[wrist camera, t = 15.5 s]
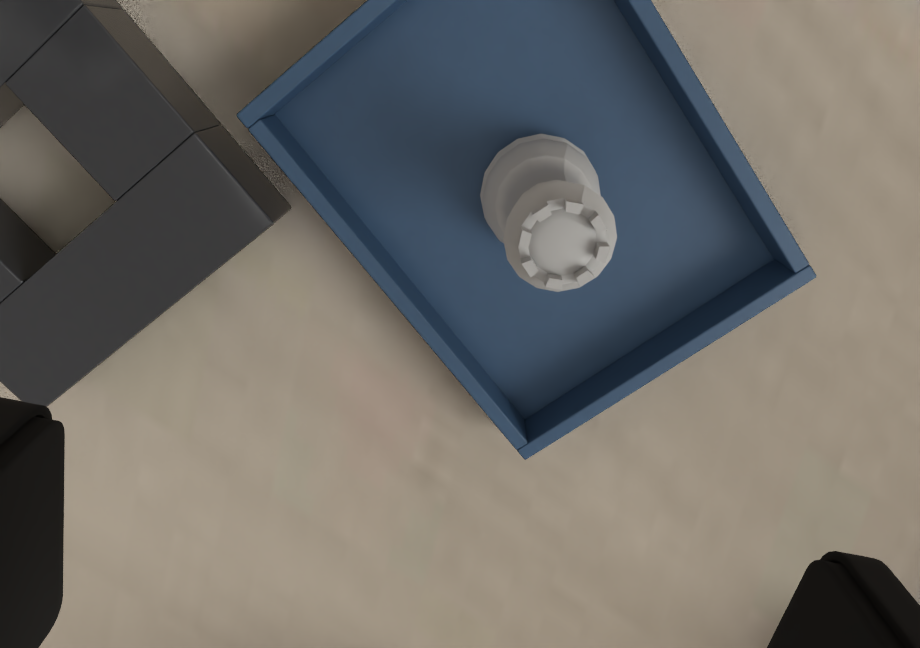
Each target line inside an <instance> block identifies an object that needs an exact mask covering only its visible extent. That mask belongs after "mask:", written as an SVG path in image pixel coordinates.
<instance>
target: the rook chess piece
mask: <svg viewBox="0 0 920 648" xmlns="http://www.w3.org/2000/svg"><path fill="white" fill-rule="evenodd" d="M480 198H481V203H482V208H483V213H484V218H485V219H486V221H487V223H488V225H489V226H490V228H491V229H492V231H493V232H494V234H495V235H496V237H497V238H498V240H499V241H501V242H502V243H504V246H505V251H506V256H507V260H508V261H509V263H510V264H511V266H512V267H513V269H514V270H515V272H516V273H517V275H518V276H519V277H520V278H522V279H523V280H525V281H526V282H528V283H530V284H531V285H533V286H534V287H536V288H539V289H545V290H550V291H555V292H560V291H565V290H570V289H576V288H580V287H581V286H583V285H585V284H586V283H588V282H589V281H591V280H593V279H594V278H596V277H597V276H598V275H599V274H600V273H601V272H602V270H603V269H604V268H605V266H606V265H607V264H608V262H609V261H610V260H611V258H612V254H613V251H614V247H615V243H616V240H617V233H616V225H615V218H614V215H613V213H612V212H611V210H610V208H609V207H608V205H607V203H606V202H605V200H604V198H603V197H601V194H600V187H599V180H598V175H597V174H596V171H595V169H594V168H593V166H592V164H591V163H590V161H589V159H588V158H587V156H586V154H585V153H584V151H582V150H581V149H579V148H578V147H576V146H575V145H574V144H572V143H571V142H569V141H568V140H566V139H565V138H561V137H556V136H551V135H546V134H537V135H532V136H528V137H523V138H518V139H516V140H515V141H514V142H512V143H511V144H509V145H508V146H506V147H505V148H503V149H502V150H500V151H499V152H498V153H497V154H496V156H495V157H494V159H493V160H492V162H491V163H490V165H489V166H488V168H487V169H486V171H485V173H484V178H483V183H482V188H481V193H480Z"/></svg>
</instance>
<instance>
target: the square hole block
mask: <svg viewBox="0 0 920 648" xmlns="http://www.w3.org/2000/svg"><path fill="white" fill-rule="evenodd" d="M24 104H25V106H26V107H27V108H28V109H29V110H30V111H31V112H32V113H33V114H34V115H35V116H36V117H37V118H38V119H39V120H40V122H41V123H42V124H43V125H44V126H45V127H46V128H47V129H48V130H49V131H50V132H51V133H52V134H53V135H54V136H55V138H56V139H57V140H58V141H59V142H60V143H61V144H62V145H63V146H64V147H65V148H66V149H67V150H68V151H69V152H70V154H71V155H72V156H73V157H74V158H75V159H76V160H77V161H78V162H79V163H80V164H81V165H82V166H83V167H84V168H85V170H86V171H87V172H88V173H89V174H90V175H91V176H92V177H93V178H94V179H95V180H96V181H97V182H98V183H99V185H100V186H101V187H102V188H103V189H104V190H105V191H106V192H107V193H108V194H109V195H110V196H111V197H112V198H113V199H114V200H115V201H116V200H117V201H116V202H115V203H114V204H112V205H111V206H110V207H109V208H108V209H107V210H106V211H104V212H103V213H102V214H101V215H100V216H99V217H98V218H96V219H95V220H94V221H93V222H92V223H91V224H90V225H88V226H87V227H86V228H85V229H84V230H83V231H82V232H81V233H79V234H78V235H77V236H76V237H75V238H74V239H73V240H71V241H70V242H69V243H68V244H67V245H66V246H65V247H63V248H62V249H61V250H60V251H59V252H58V253H57V254H55V253H54V252H53V251H52V250H51V249H50V248H49V247H48V246H47V245H46V244H45V243H44V242H43V241H42V240H41V239H40V238H39V237H38V236H37V235H36V234H35V233H34V232H33V231H32V230H31V229H30V228H29V227H28V226H27V225H26V224H25V223H24V222H23V221H22V220H21V219H20V218H19V217H18V216H17V215H16V214H15V213H14V212H13V211H12V210H11V209H10V208H9V207H8V206H7V205H6V204H5V203H4V202H3V201H2V200H1V199H0V382H1V383H2V384H3V385H5V386H6V387H7V388H8V389H9V390H10V391H11V392H12V393H13V394H14V395H15V396H17V397H18V398H19V399H20V400H21V401H22V402H28V403H33V404H39V405H44V406H46V407H47V406H48V405H50V404H51V403H52V402H53V401H55V400H56V399H57V398H58V397H60V396H61V395H62V394H63V393H65V392H66V391H67V390H68V389H70V388H71V387H72V386H73V385H75V384H76V383H77V382H78V381H80V380H81V379H82V378H83V377H84V376H86V375H87V374H88V373H89V372H91V371H92V370H93V369H94V368H96V367H97V366H98V365H99V364H101V363H102V362H103V361H104V360H106V359H107V358H108V357H109V356H111V355H112V354H113V353H114V352H115V351H117V350H118V349H119V348H120V347H122V346H123V345H124V344H125V343H127V342H128V341H129V340H130V339H132V338H133V337H134V336H135V335H137V334H138V333H139V332H140V331H142V330H143V329H144V328H145V327H147V326H148V325H149V324H150V323H151V322H153V321H154V320H155V319H156V318H158V317H159V316H160V315H161V314H163V313H164V312H165V311H166V310H168V309H169V308H170V307H171V306H173V305H174V304H175V303H176V302H178V301H179V300H180V299H181V298H182V297H184V296H185V295H186V294H187V293H189V292H190V291H191V290H192V289H194V288H195V287H196V286H197V285H199V284H200V283H201V282H202V281H204V280H205V279H206V278H207V277H209V276H210V275H211V274H212V273H214V272H215V271H216V270H217V269H218V268H220V267H221V266H222V265H223V264H225V263H226V262H227V261H228V260H230V259H231V258H232V257H233V256H235V255H236V254H237V253H238V252H240V251H241V250H242V249H243V248H245V247H246V246H247V245H248V244H249V243H251V242H252V241H253V240H254V239H256V238H257V237H258V236H259V235H261V234H262V233H263V232H264V231H266V230H267V229H268V228H269V227H271V226H272V225H273V224H274V223H275V222H276V221H278V220H279V219H280V218H281V217H282V216H283V215H284V214H286V213H287V212H288V211H289V210H290V209H291V206H290V205H289V204H288V202H287V201H286V200H285V199H284V198H283V197H282V195H281V194H280V193H279V192H278V191H277V190H276V188H275V187H274V186H273V185H272V184H271V182H270V181H269V180H268V179H267V178H266V177H265V175H264V174H263V173H262V172H261V171H260V170H259V168H258V167H257V166H256V165H255V164H254V162H253V161H252V160H251V159H250V158H249V157H248V155H247V154H246V153H245V152H244V151H243V150H242V148H241V147H240V146H239V145H238V144H237V142H236V141H235V140H234V139H233V138H232V137H231V135H230V134H229V133H228V132H227V131H226V129H225V128H224V127H223V126H222V125H220V122H219V121H218V120H217V119H216V118H215V116H214V115H213V114H212V113H211V112H210V111H209V109H208V108H207V107H206V106H205V105H204V103H203V102H202V101H201V100H200V99H199V98H198V96H197V95H196V94H195V93H194V92H193V91H192V89H191V88H190V87H189V86H188V85H187V83H186V82H185V81H184V80H183V79H182V78H181V76H180V75H179V74H178V73H177V72H176V70H175V69H174V68H173V67H172V66H171V65H170V63H169V62H168V61H167V60H166V59H165V58H164V56H163V55H162V54H161V53H160V52H159V50H158V49H157V48H156V47H155V46H154V45H153V43H152V42H151V41H150V40H149V39H148V38H147V36H146V35H145V34H144V33H143V32H142V30H141V29H140V28H139V27H138V26H137V25H136V23H135V22H134V21H133V20H132V19H131V18H130V16H129V15H128V14H127V13H126V12H125V11H124V10H122V7H121V6H120V5H119V3H118V2H117V1H116V0H0V127H1V126H2V125H4V124H5V123H6V122H7V121H8V120H9V119H10V118H11V117H12V116H13V115H14V114H15V113H16V112H17V111H18V110H19V109H20V108H21V107H22V106H23V105H24ZM219 125H220V126H219Z"/></svg>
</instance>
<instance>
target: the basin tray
mask: <svg viewBox="0 0 920 648" xmlns="http://www.w3.org/2000/svg"><path fill="white" fill-rule="evenodd" d="M237 117H238V118H239V120H240V121H241V122H242V123H243V124H244V126H245V127H246V128H249V131H250V133H251V134H252V135H253V136H254V137H255V139H256V140H257V141H258V142H259V143H260V145H261V146H262V147H263V148H264V149H265V151H266V152H267V153H268V154H269V155H270V157H271V158H272V159H273V160H274V161H275V163H276V164H277V165H278V166H279V167H280V168H281V170H282V171H283V172H284V173H285V174H286V176H287V177H288V178H289V179H290V180H291V182H292V183H293V184H294V185H295V186H296V188H297V189H298V190H299V191H300V192H301V194H302V195H303V196H304V197H305V198H306V199H307V201H308V202H309V203H310V204H311V205H312V207H313V208H314V209H315V210H316V211H317V213H318V214H319V215H320V216H321V217H322V219H323V220H324V221H325V222H326V223H327V225H328V226H329V227H330V228H331V229H332V230H333V232H334V233H335V234H336V235H337V236H338V238H339V239H340V240H341V241H342V242H343V244H344V245H345V246H346V247H347V248H348V250H349V251H350V252H351V253H352V254H353V256H354V257H355V258H356V259H357V260H358V261H359V263H360V264H361V265H362V266H363V267H364V269H365V270H366V271H367V272H368V273H369V275H370V276H371V277H372V278H373V279H374V281H375V282H376V283H377V284H378V285H379V287H380V288H381V289H382V290H383V291H384V293H385V294H386V295H387V296H388V297H389V298H390V300H391V301H392V302H393V303H394V304H395V306H396V307H397V308H398V309H399V310H400V312H401V313H402V314H403V315H404V316H405V318H406V319H407V320H408V321H409V322H410V324H411V325H412V326H413V327H414V328H415V329H416V331H417V332H418V333H419V334H420V335H421V337H422V338H423V339H424V340H425V341H426V343H427V344H428V345H429V346H430V347H431V349H432V350H433V351H434V352H435V353H436V355H437V356H438V357H439V358H440V359H441V360H442V362H443V363H444V364H445V365H446V366H447V368H448V369H449V370H450V371H451V372H452V374H453V375H454V376H455V377H456V378H457V380H458V381H459V382H460V383H461V384H462V386H463V387H464V388H465V389H466V390H467V391H468V393H469V394H470V395H471V396H472V397H473V399H474V400H475V401H476V402H477V403H478V405H479V406H480V407H481V408H482V409H483V411H484V412H485V413H486V414H487V415H488V417H489V418H490V419H491V420H492V421H493V423H494V424H495V425H496V426H497V427H498V428H499V430H500V431H501V432H502V433H503V434H504V436H505V437H506V438H507V439H508V440H509V442H510V443H511V444H512V445H513V446H514V448H515V449H517V451H518V452H519V453H520V455H521V456H522V457H523V458H524V459H527V458H529V457H531V456H532V455H534V454H535V453H537V452H539V451H540V450H542V449H543V448H545V447H547V446H548V445H550V444H551V443H553V442H555V441H556V440H558V439H559V438H561V437H563V436H564V435H566V434H567V433H569V432H570V431H572V430H574V429H575V428H577V427H578V426H580V425H582V424H583V423H585V422H586V421H588V420H590V419H591V418H593V417H594V416H596V415H598V414H599V413H601V412H602V411H604V410H606V409H607V408H609V407H610V406H612V405H614V404H615V403H617V402H618V401H620V400H621V399H623V398H625V397H626V396H628V395H629V394H631V393H633V392H634V391H636V390H637V389H639V388H641V387H642V386H644V385H645V384H647V383H649V382H650V381H652V380H653V379H655V378H657V377H658V376H660V375H661V374H663V373H664V372H666V371H668V370H669V369H671V368H672V367H674V366H676V365H677V364H679V363H680V362H682V361H684V360H685V359H687V358H688V357H690V356H692V355H693V354H695V353H696V352H698V351H700V350H701V349H703V348H704V347H706V346H708V345H709V344H711V343H712V342H714V341H715V340H717V339H719V338H720V337H722V336H723V335H725V334H727V333H728V332H730V331H731V330H733V329H735V328H736V327H738V326H739V325H741V324H743V323H744V322H746V321H747V320H749V319H751V318H752V317H754V316H755V315H757V314H758V313H760V312H762V311H763V310H765V309H766V308H768V307H770V306H771V305H773V304H774V303H776V302H778V301H779V300H781V299H782V298H784V297H786V296H787V295H789V294H790V293H792V292H794V291H795V290H797V289H798V288H800V287H801V286H803V285H805V284H806V283H808V282H809V281H811V280H813V279H814V278H816V274H815V272H814V271H813V269H812V268H811V266H810V265H809V263H808V261H807V259H806V258H805V256H804V254H803V253H802V251H801V249H800V248H799V246H798V244H797V243H796V241H795V239H794V238H793V236H792V234H791V233H790V231H789V229H788V228H787V226H786V224H785V223H784V221H783V219H782V218H781V216H780V214H779V213H778V211H777V209H776V208H775V206H774V204H773V203H772V201H771V199H770V198H769V196H768V194H767V193H766V191H765V189H764V188H763V186H762V184H761V183H760V181H759V179H758V178H757V176H756V174H755V173H754V171H753V169H752V168H751V166H750V164H749V163H748V161H747V159H746V158H745V156H744V154H743V153H742V151H741V149H740V148H739V146H738V144H737V143H736V141H735V139H734V138H733V136H732V134H731V133H730V131H729V129H728V128H727V126H726V124H725V123H724V121H723V120H722V118H721V116H720V115H719V113H718V111H717V110H716V108H715V106H714V105H713V103H712V101H711V100H710V98H709V96H708V95H707V93H706V91H705V90H704V88H703V86H702V85H701V83H700V81H699V80H698V78H697V76H696V75H695V73H694V71H693V70H692V68H691V66H690V65H689V63H688V61H687V60H686V58H685V56H684V55H683V53H682V51H681V50H680V48H679V46H678V45H677V43H676V41H675V40H674V38H673V36H672V35H671V33H670V31H669V30H668V28H667V26H666V25H665V23H664V21H663V20H662V18H661V16H660V15H659V13H658V11H657V10H656V8H655V6H654V5H653V3H652V1H651V0H367V1H366V2H365V3H364V4H362V5H361V6H360V7H359V8H358V9H357V10H355V11H354V12H353V13H352V14H351V15H350V16H349V17H347V18H346V19H345V20H344V21H343V22H342V23H341V24H339V25H338V26H337V27H336V28H335V29H334V30H332V31H331V32H330V33H329V34H328V35H327V36H326V37H324V38H323V39H322V40H321V41H320V42H319V43H318V44H316V45H315V46H314V47H313V48H312V49H311V50H310V51H308V52H307V53H306V54H305V55H304V56H303V57H301V58H300V59H299V60H298V61H297V62H296V63H295V64H293V65H292V66H291V67H290V68H289V69H288V70H287V71H285V72H284V73H283V74H282V75H281V76H280V77H279V78H277V79H276V80H275V81H274V82H273V83H272V84H270V85H269V86H268V87H267V88H266V89H265V90H264V91H262V92H261V93H260V94H259V95H258V96H257V97H256V98H254V99H253V100H252V101H251V102H250V103H249V104H247V105H246V106H245V107H244V108H243V109H242V110H241V111H239V112H238V113H237ZM537 134H546V135H551V136H556V137H561V138H565V139H566V140H568V141H569V142H571V143H572V144H574V145H575V146H576V147H578V148H579V149H581V150H582V151H584V153H585V154H586V156H587V158H588V159H589V161H590V163H591V164H592V166H593V168H594V169H595V171H596V174H597V175H598V180H599V187H600V194H601V197H603V198H604V200H605V202H606V203H607V205H608V207H609V208H610V210H611V212H612V213H613V215H614V218H615V225H616V233H617V240H616V243H615V247H614V251H613V254H612V258H611V260H610V261H609V262H608V264H607V265H606V266H605V268H604V269H603V270H602V272H601V273H600V274H599V275H598V276H597V277H596V278H594V279H593V280H591V281H589V282H588V283H586V284H585V285H583V286H581V287H580V288H576V289H570V290H565V291H560V292H555V291H550V290H545V289H539V288H536V287H534V286H533V285H531V284H530V283H528V282H526V281H525V280H523V279H522V278H520V277H519V276H518V275H517V273H516V272H515V270H514V269H513V267H512V266H511V264H510V263H509V261H508V260H507V256H506V251H505V246H504V243H502V242H501V241H499V240H498V238H497V237H496V235H495V234H494V232H493V231H492V229H491V228H490V226H489V225H488V223H487V221H486V219H485V218H484V213H483V208H482V203H481V198H480V193H481V188H482V183H483V178H484V173H485V171H486V169H487V168H488V166H489V165H490V163H491V162H492V160H493V159H494V157H495V156H496V154H497V153H498V152H499V151H500V150H502V149H503V148H505V147H506V146H508V145H509V144H511V143H512V142H514V141H515V140H516V139H518V138H523V137H528V136H532V135H537Z"/></svg>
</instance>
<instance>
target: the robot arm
mask: <svg viewBox="0 0 920 648" xmlns="http://www.w3.org/2000/svg"><path fill="white" fill-rule="evenodd" d="M64 437H65V434H64V427H63V424H62V423H61V422H59V421H56V420H52V415H51V413H50V410H49V408H47V407H46V406H44V405H39V404H33V403H28V402H22V401H17V400H12V399H6V398H1V397H0V648H39V646H40V645H41V643H42V642H43V640H44V639H45V638H46V636H47V635H48V633H49V632H50V630H51V629H52V627H53V625H54V623H55V621H56V619H57V617H58V614H59V611H60V608H61V604H62V597H63V528H64ZM767 648H920V605H919V604H918V603H917V602H916V600H915V599H914V598H913V597H912V596H911V594H910V593H909V592H908V591H907V590H906V588H905V587H904V586H903V585H902V584H901V582H900V581H899V580H898V579H897V577H896V576H895V575H894V574H893V573H892V571H891V570H890V569H889V568H888V567H887V566H886V565H885V564H884V563H883V562H882V561H880V560H877V559H874V558H869V557H864V556H859V555H853V554H848V553H842V552H837V551H833V552H828V553H826V554H825V555H824V556H822V558H821V559H820V560H815V561H813V562H812V563H810V565H809V566H808V568H807V569H806V571H805V573H804V575H803V577H802V579H801V581H800V583H799V585H798V587H797V589H796V591H795V593H794V595H793V597H792V599H791V601H790V603H789V605H788V607H787V609H786V611H785V613H784V615H783V617H782V619H781V621H780V623H779V625H778V627H777V629H776V631H775V633H774V635H773V637H772V639H771V641H770V643H769V645H768V647H767Z"/></svg>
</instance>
